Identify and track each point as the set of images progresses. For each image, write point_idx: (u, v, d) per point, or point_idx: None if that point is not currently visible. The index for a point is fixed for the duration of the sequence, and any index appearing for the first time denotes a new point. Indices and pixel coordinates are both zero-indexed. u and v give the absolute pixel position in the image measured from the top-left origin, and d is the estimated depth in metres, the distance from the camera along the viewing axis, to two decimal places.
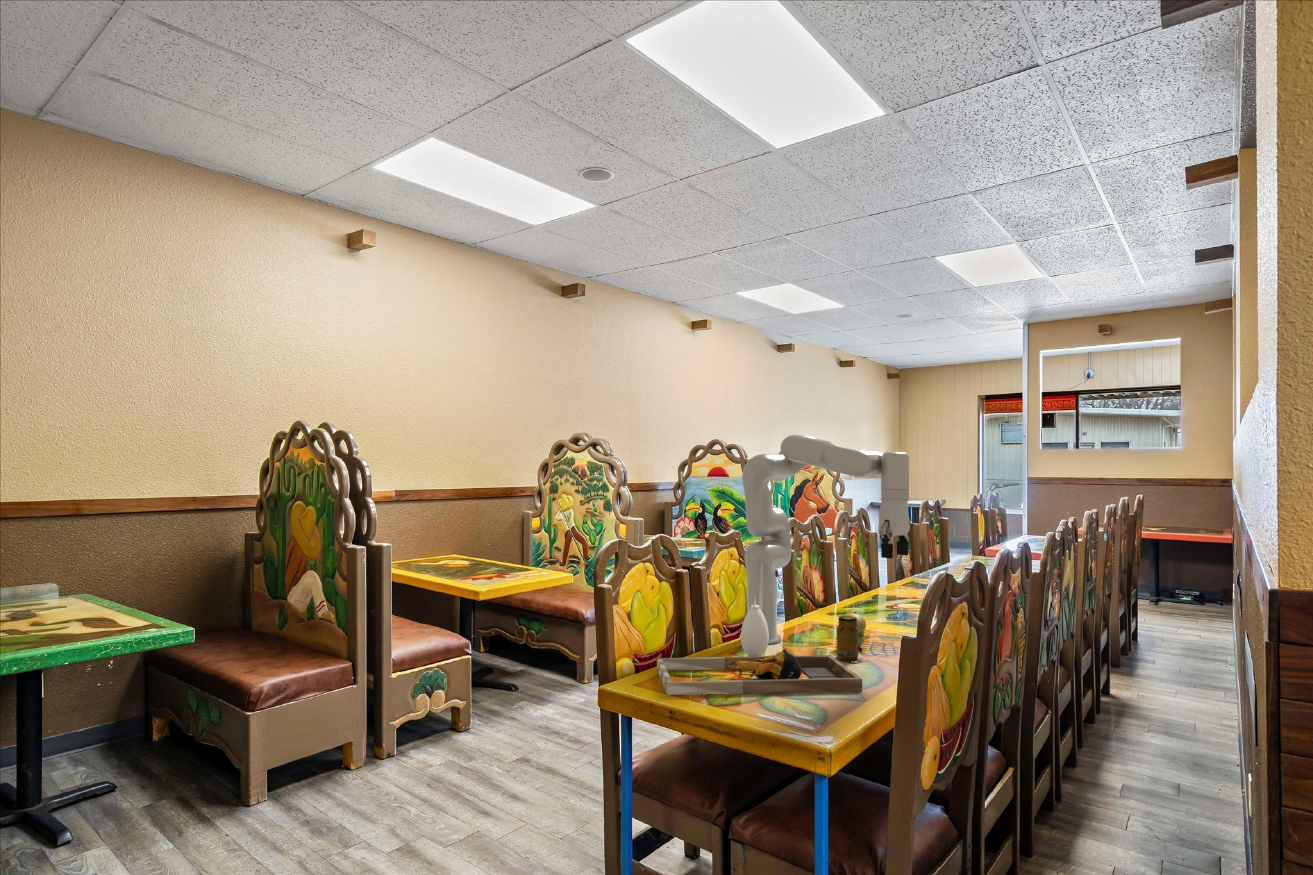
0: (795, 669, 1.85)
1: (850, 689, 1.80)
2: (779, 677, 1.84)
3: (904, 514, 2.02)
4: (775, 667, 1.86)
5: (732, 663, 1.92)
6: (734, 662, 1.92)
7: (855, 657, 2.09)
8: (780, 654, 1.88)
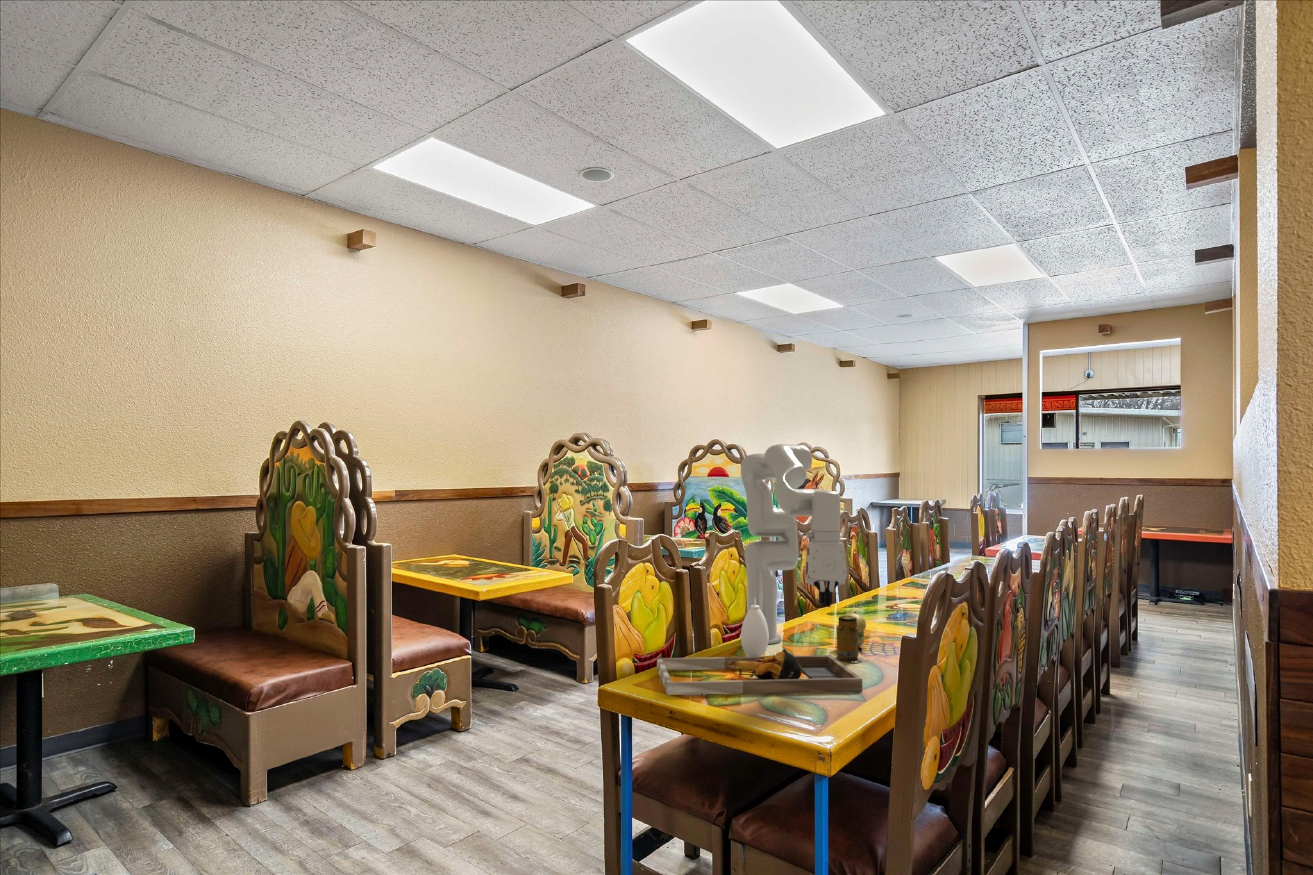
0: (796, 669, 1.85)
1: (850, 689, 1.80)
2: (779, 677, 1.84)
3: None
4: (775, 667, 1.86)
5: (732, 663, 1.92)
6: (734, 662, 1.92)
7: (855, 657, 2.09)
8: (781, 654, 1.88)
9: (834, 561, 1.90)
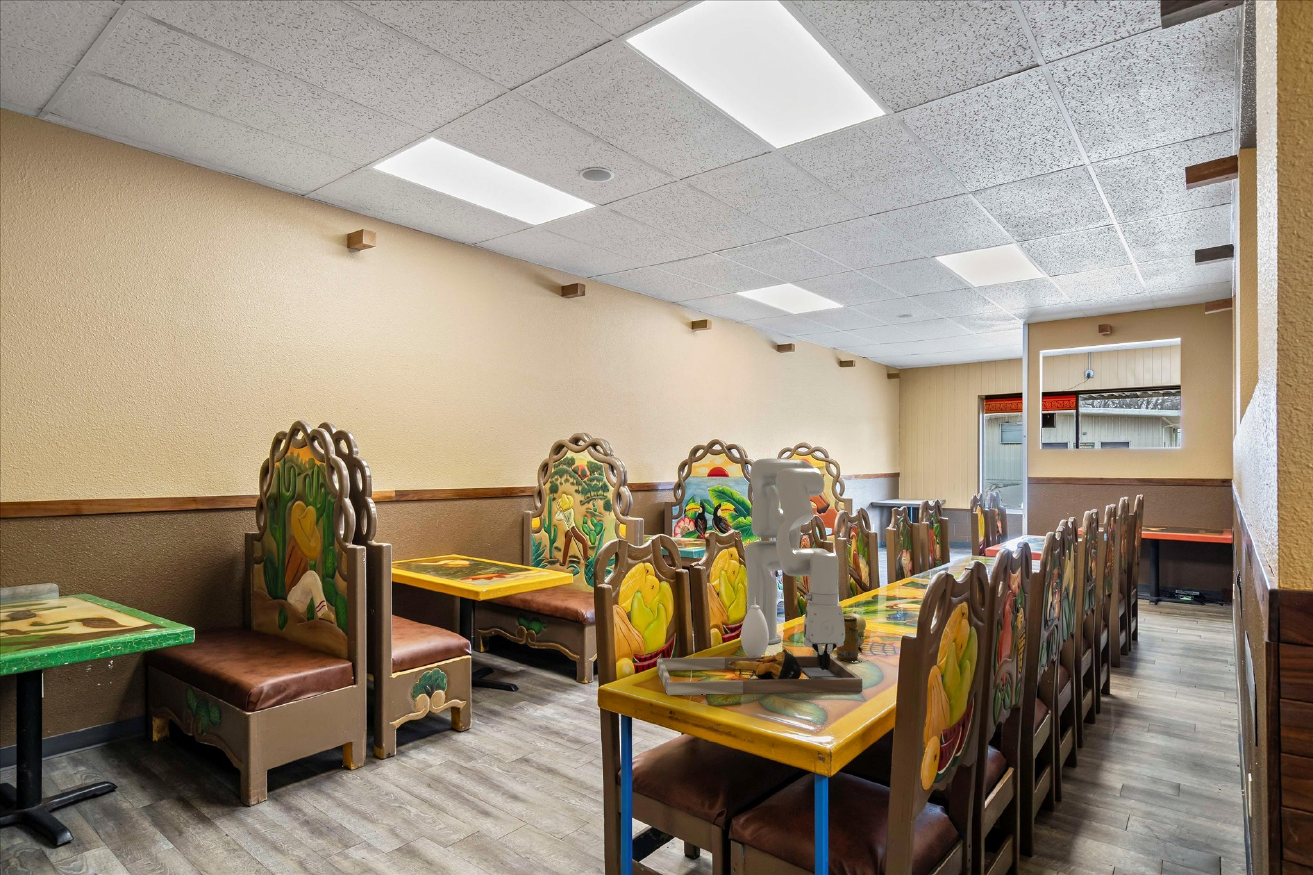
0: (796, 669, 1.85)
1: (850, 689, 1.80)
2: (779, 677, 1.84)
3: None
4: (775, 667, 1.86)
5: (732, 663, 1.92)
6: (734, 662, 1.92)
7: (855, 657, 2.09)
8: (781, 654, 1.88)
9: (832, 624, 1.89)
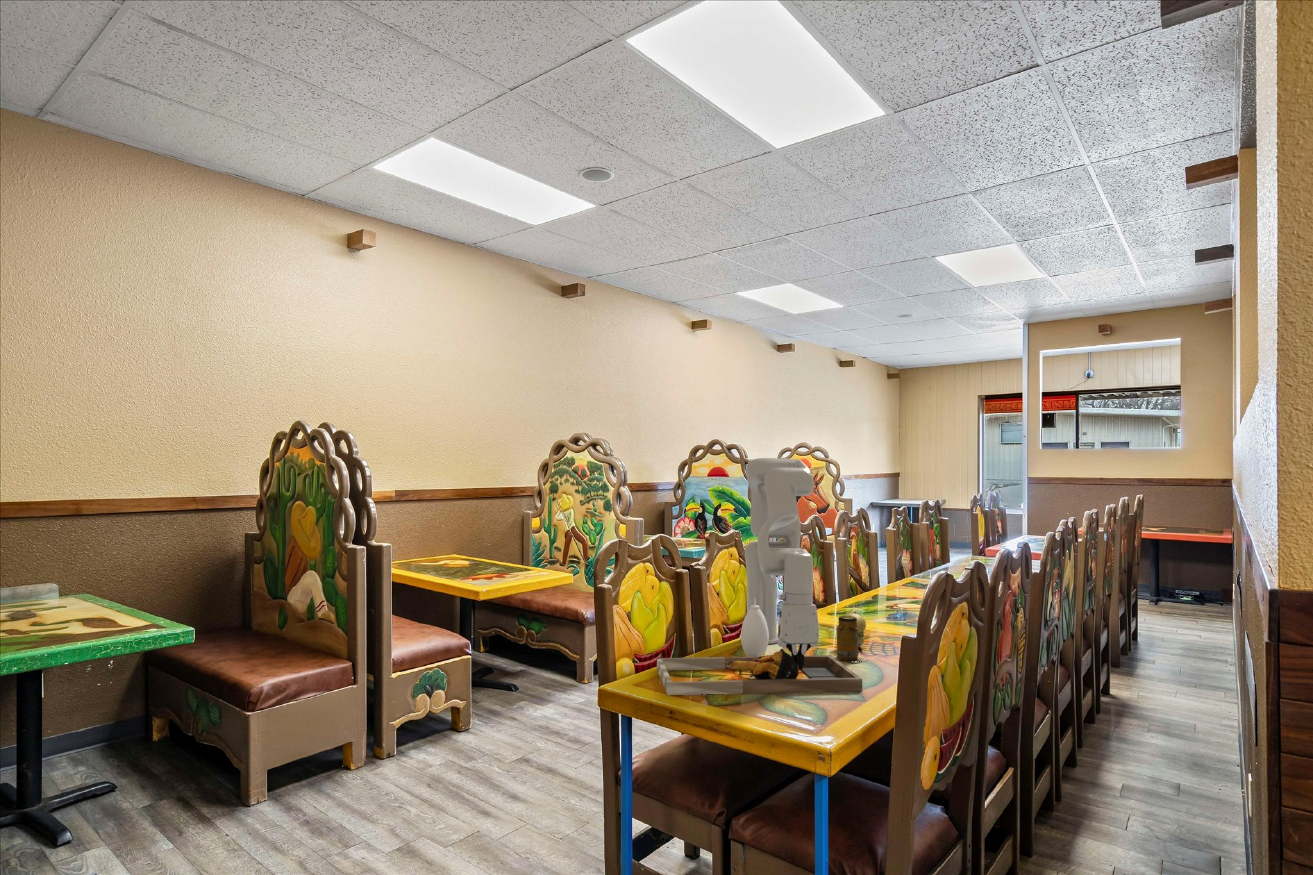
0: (793, 669, 1.85)
1: (850, 689, 1.80)
2: (776, 677, 1.84)
3: None
4: (772, 667, 1.86)
5: (729, 663, 1.92)
6: (731, 662, 1.92)
7: (855, 657, 2.09)
8: (778, 653, 1.87)
9: (806, 624, 1.88)
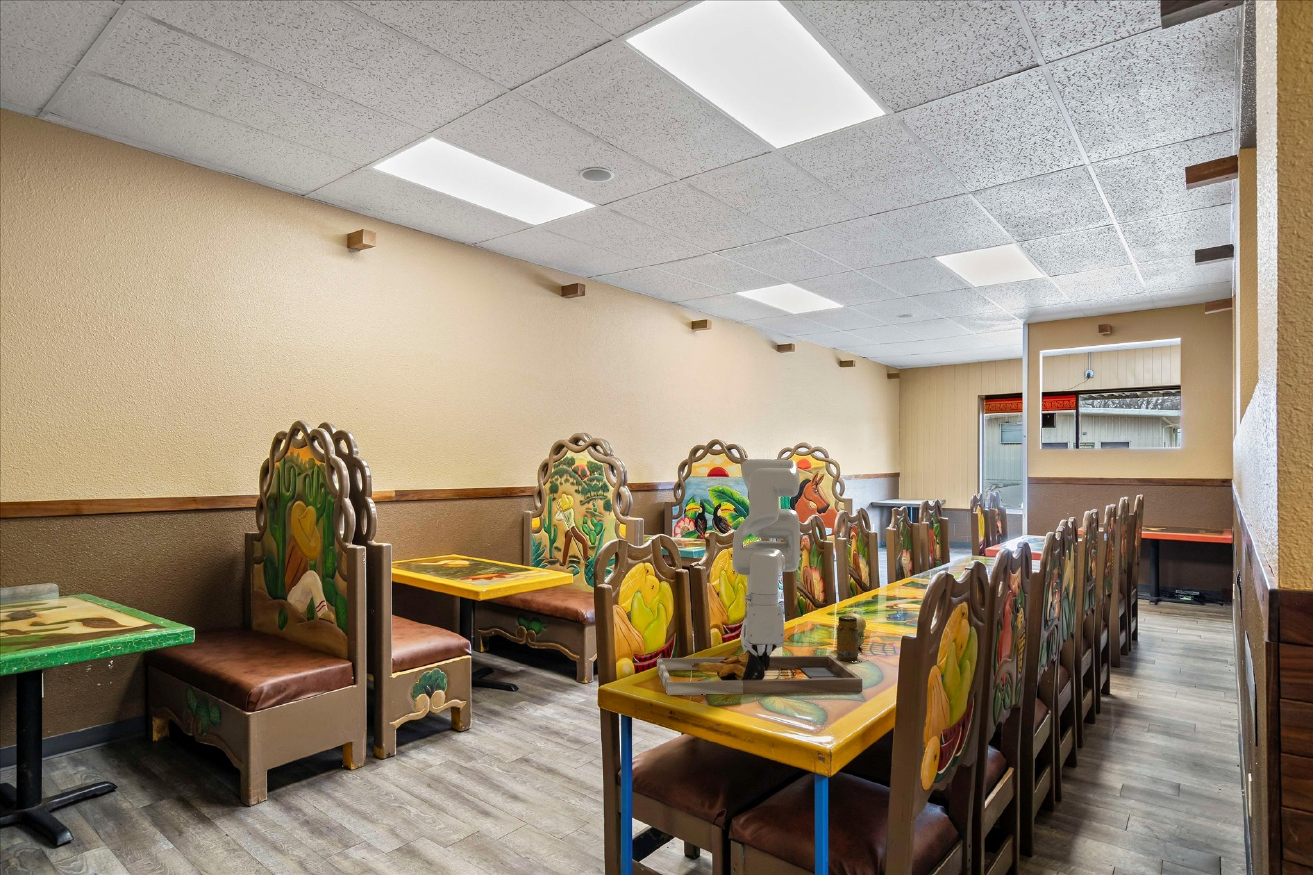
0: (759, 670, 1.83)
1: (850, 689, 1.80)
2: (743, 678, 1.82)
3: None
4: (739, 668, 1.84)
5: (695, 665, 1.89)
6: (697, 664, 1.89)
7: (855, 657, 2.09)
8: (744, 655, 1.86)
9: (771, 625, 1.87)
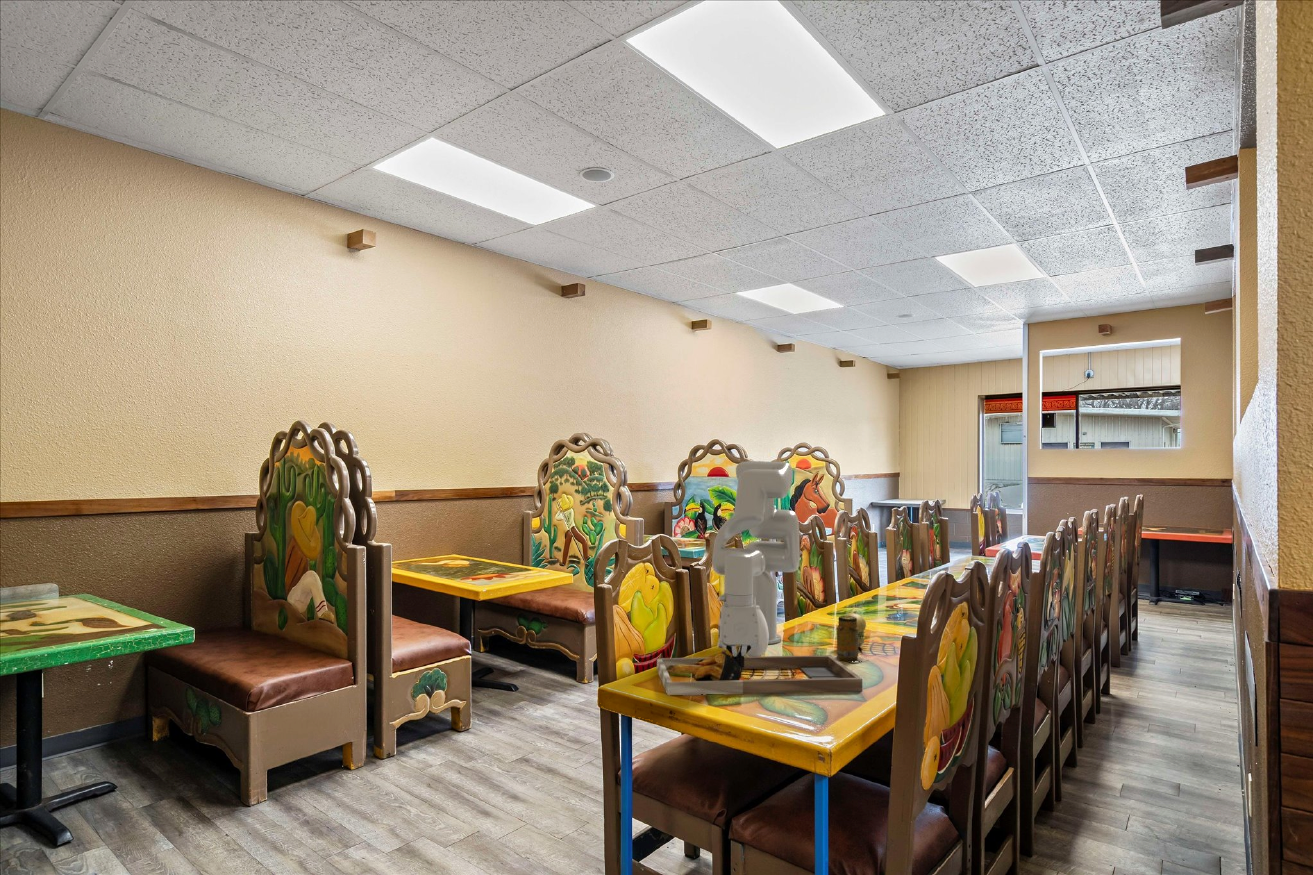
0: (736, 671, 1.83)
1: (850, 689, 1.80)
2: (720, 680, 1.81)
3: None
4: (715, 670, 1.83)
5: (670, 667, 1.87)
6: (672, 666, 1.87)
7: (855, 657, 2.09)
8: (720, 656, 1.84)
9: (746, 625, 1.86)
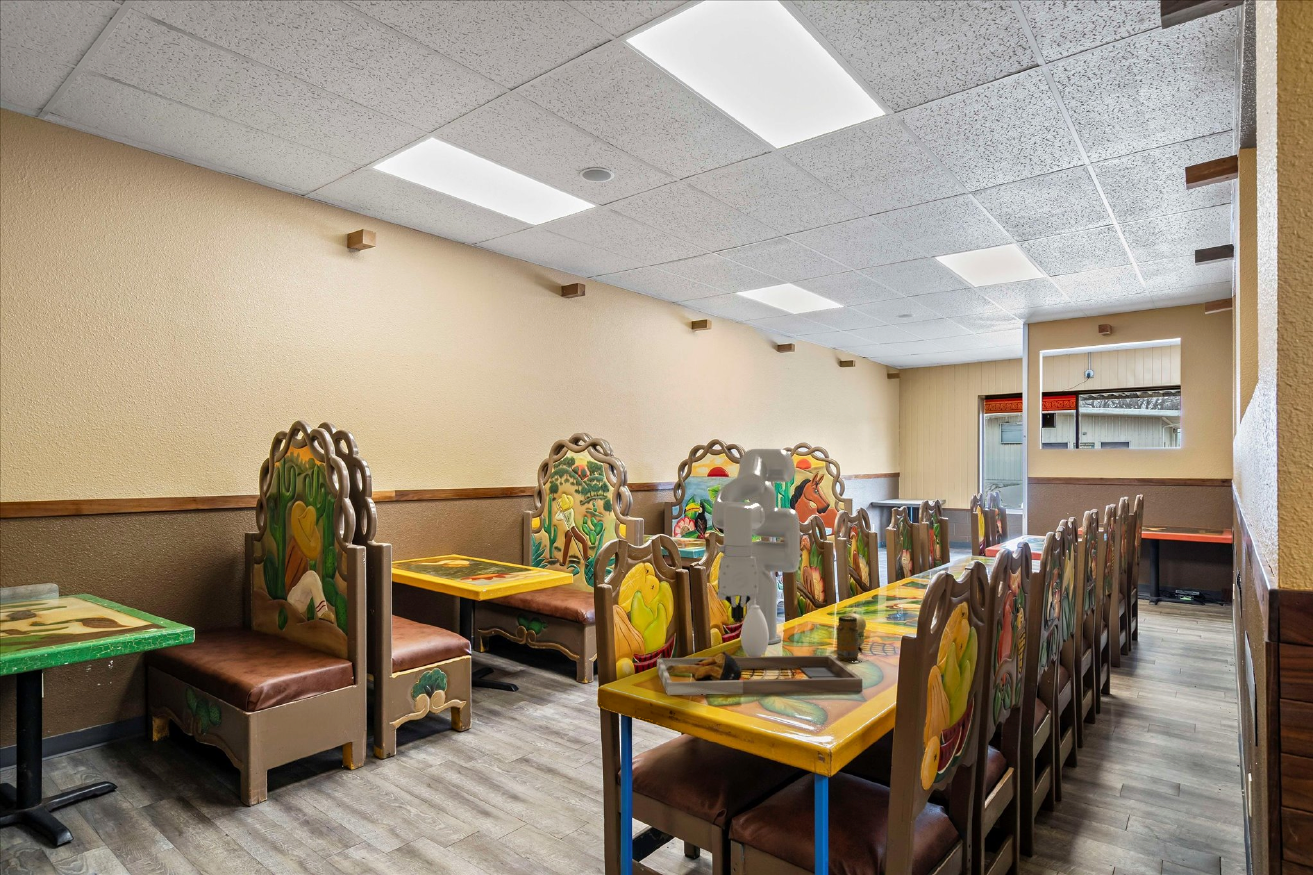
0: (736, 671, 1.83)
1: (850, 689, 1.80)
2: (720, 680, 1.81)
3: None
4: (715, 670, 1.83)
5: (671, 668, 1.87)
6: (672, 666, 1.87)
7: (855, 657, 2.09)
8: (720, 656, 1.85)
9: (745, 576, 1.87)
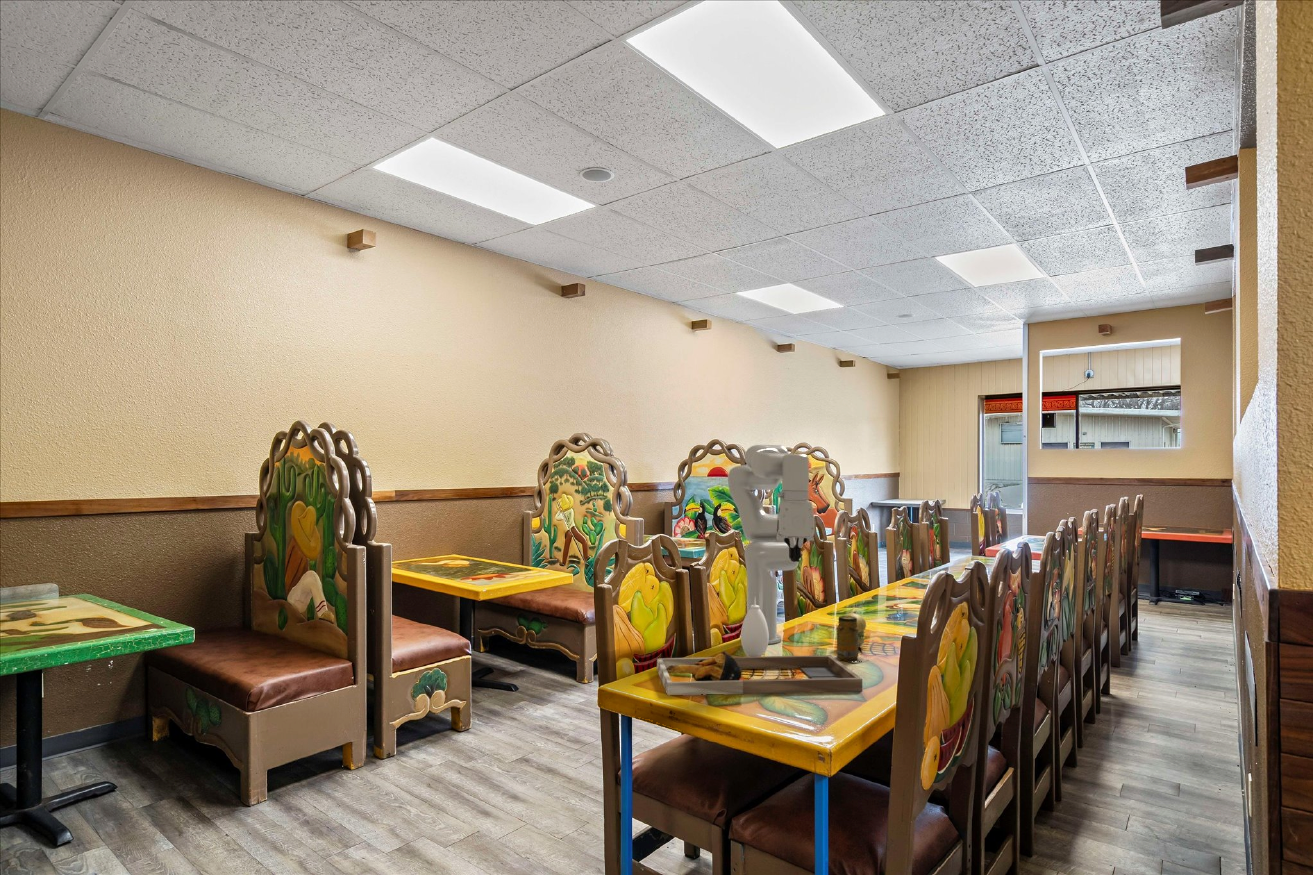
0: (736, 671, 1.83)
1: (850, 689, 1.80)
2: (720, 680, 1.81)
3: None
4: (715, 670, 1.83)
5: (671, 668, 1.87)
6: (673, 666, 1.87)
7: (855, 657, 2.09)
8: (720, 656, 1.85)
9: (803, 519, 2.04)
